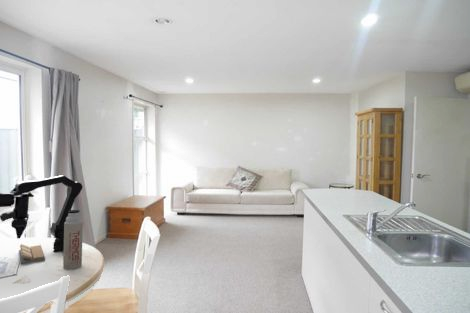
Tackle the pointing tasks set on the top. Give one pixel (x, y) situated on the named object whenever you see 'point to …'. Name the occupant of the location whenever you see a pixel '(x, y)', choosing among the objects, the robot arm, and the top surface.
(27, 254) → the plank
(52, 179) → the robot arm
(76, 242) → the thermos bottle
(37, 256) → the floor panel
